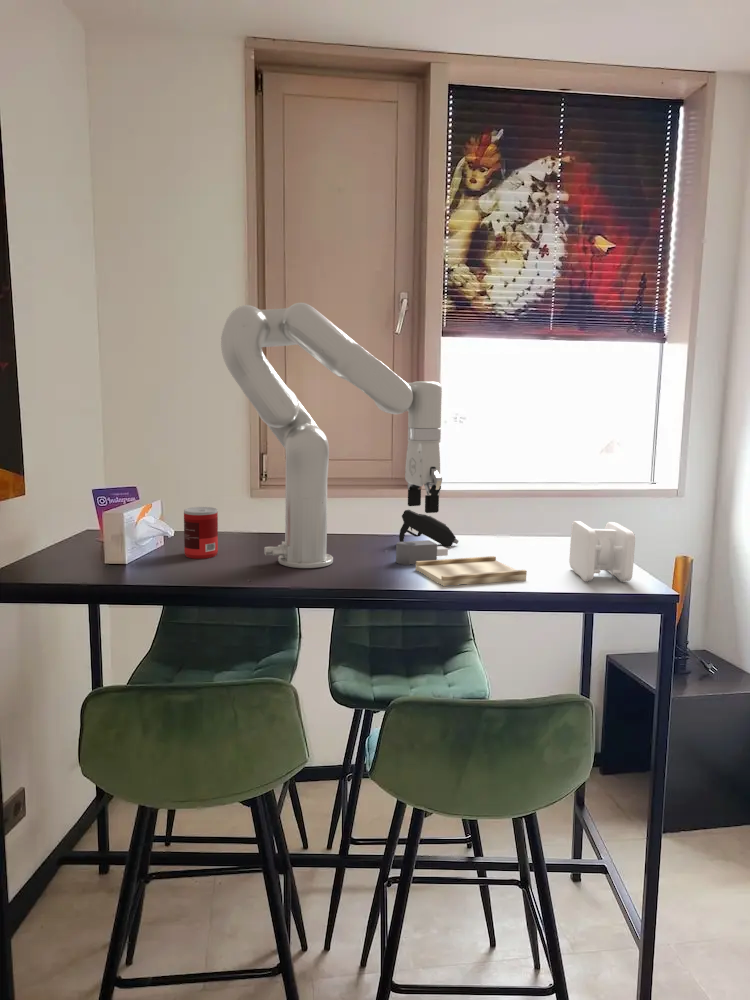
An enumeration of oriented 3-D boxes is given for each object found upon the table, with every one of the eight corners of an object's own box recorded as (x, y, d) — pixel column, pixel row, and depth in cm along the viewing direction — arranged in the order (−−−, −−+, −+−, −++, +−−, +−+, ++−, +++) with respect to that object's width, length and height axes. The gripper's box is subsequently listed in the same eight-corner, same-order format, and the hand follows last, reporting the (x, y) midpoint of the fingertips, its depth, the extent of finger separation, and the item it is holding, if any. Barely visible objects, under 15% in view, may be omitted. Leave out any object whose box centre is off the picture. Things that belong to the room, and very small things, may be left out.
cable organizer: (566, 567, 166) (570, 518, 165) (611, 568, 166) (615, 519, 165) (585, 584, 152) (589, 531, 150) (634, 586, 152) (639, 532, 150)
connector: (400, 565, 164) (400, 546, 163) (392, 560, 168) (393, 542, 167) (448, 562, 168) (449, 543, 167) (440, 557, 172) (441, 539, 171)
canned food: (220, 551, 172) (220, 507, 170) (214, 559, 164) (213, 512, 163) (188, 551, 172) (188, 506, 170) (180, 558, 164) (180, 512, 162)
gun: (443, 567, 185) (463, 535, 184) (389, 538, 184) (408, 505, 183) (443, 565, 188) (462, 532, 187) (389, 536, 187) (408, 503, 186)
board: (443, 586, 147) (443, 577, 147) (415, 569, 160) (415, 561, 159) (526, 579, 154) (526, 570, 154) (493, 564, 167) (493, 556, 167)
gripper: (394, 433, 170) (393, 504, 172) (425, 438, 154) (423, 516, 156) (423, 433, 172) (421, 502, 175) (456, 438, 156) (454, 514, 159)
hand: (422, 509), depth 166 cm, fingers open, 9 cm apart
